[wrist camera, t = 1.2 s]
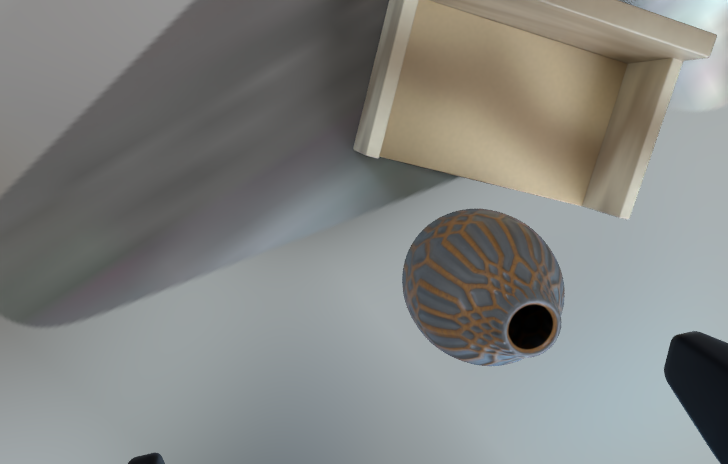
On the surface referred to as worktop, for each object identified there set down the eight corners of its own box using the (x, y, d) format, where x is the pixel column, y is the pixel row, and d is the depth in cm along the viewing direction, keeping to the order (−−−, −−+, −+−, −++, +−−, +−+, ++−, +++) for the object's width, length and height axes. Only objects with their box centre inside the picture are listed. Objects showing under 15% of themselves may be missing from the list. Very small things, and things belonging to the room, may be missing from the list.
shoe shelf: (587, 207, 29) (651, 226, 24) (352, 149, 26) (372, 158, 21) (639, 47, 28) (718, 34, 23) (397, -33, 25) (428, -67, 20)
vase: (532, 287, 29) (639, 358, 21) (421, 346, 29) (485, 443, 21) (486, 175, 28) (583, 203, 19) (367, 237, 27) (412, 294, 19)
